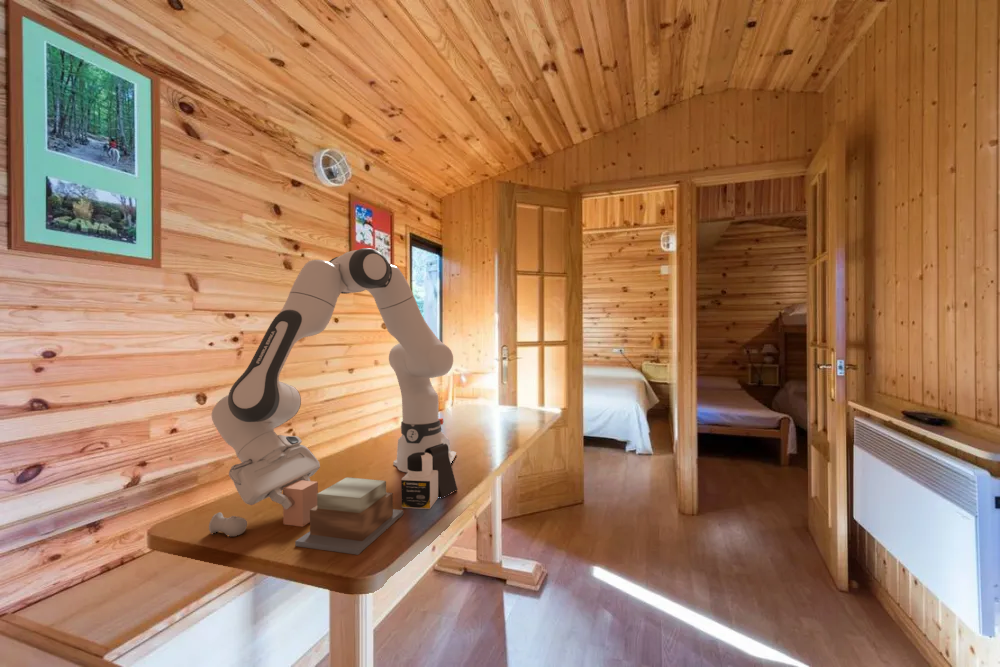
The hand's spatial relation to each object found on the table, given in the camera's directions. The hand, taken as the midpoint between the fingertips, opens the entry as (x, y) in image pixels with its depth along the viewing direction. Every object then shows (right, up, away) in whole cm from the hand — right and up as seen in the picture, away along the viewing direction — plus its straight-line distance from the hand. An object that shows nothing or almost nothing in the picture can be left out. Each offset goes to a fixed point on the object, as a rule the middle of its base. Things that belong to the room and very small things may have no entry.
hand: (301, 500), depth 95 cm
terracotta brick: (0, -4, 0) cm, 4 cm away
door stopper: (+28, -4, +16) cm, 33 cm away
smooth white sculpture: (-13, -5, -5) cm, 15 cm away
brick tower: (+13, -4, -4) cm, 15 cm away
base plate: (+13, -4, -4) cm, 15 cm away
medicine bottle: (+25, -4, +9) cm, 27 cm away
